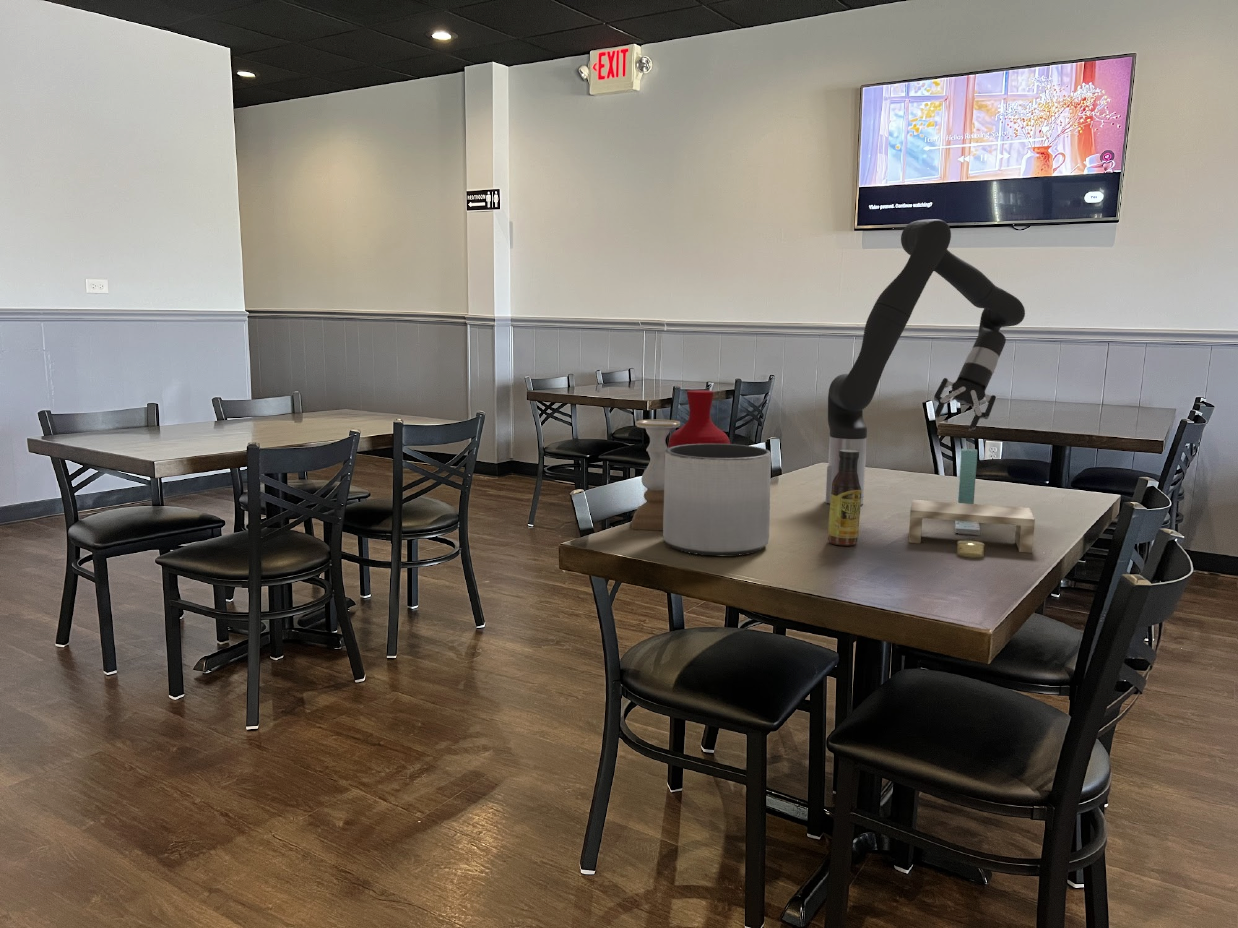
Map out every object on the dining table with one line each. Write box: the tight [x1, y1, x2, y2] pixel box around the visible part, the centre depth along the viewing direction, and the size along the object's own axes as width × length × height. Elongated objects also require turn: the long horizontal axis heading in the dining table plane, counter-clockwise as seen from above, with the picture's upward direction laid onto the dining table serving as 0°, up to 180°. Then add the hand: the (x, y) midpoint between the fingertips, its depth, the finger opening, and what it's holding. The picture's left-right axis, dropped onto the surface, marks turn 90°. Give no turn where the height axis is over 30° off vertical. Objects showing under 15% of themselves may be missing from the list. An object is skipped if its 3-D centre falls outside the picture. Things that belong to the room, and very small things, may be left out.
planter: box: [662, 443, 772, 556], centre depth 183 cm, size 22×22×20 cm
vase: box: [667, 389, 731, 448], centre depth 211 cm, size 15×15×30 cm
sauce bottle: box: [827, 450, 862, 547], centre depth 185 cm, size 6×6×20 cm
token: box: [956, 539, 985, 559], centre depth 178 cm, size 5×5×2 cm
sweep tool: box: [954, 448, 981, 536], centre depth 205 cm, size 5×24×16 cm, turn 160°
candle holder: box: [631, 418, 682, 531], centre depth 200 cm, size 11×11×24 cm
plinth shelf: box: [908, 499, 1036, 554], centre depth 188 cm, size 24×12×7 cm, turn 70°
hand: (953, 423), depth 226 cm, fingers open, 8 cm apart
